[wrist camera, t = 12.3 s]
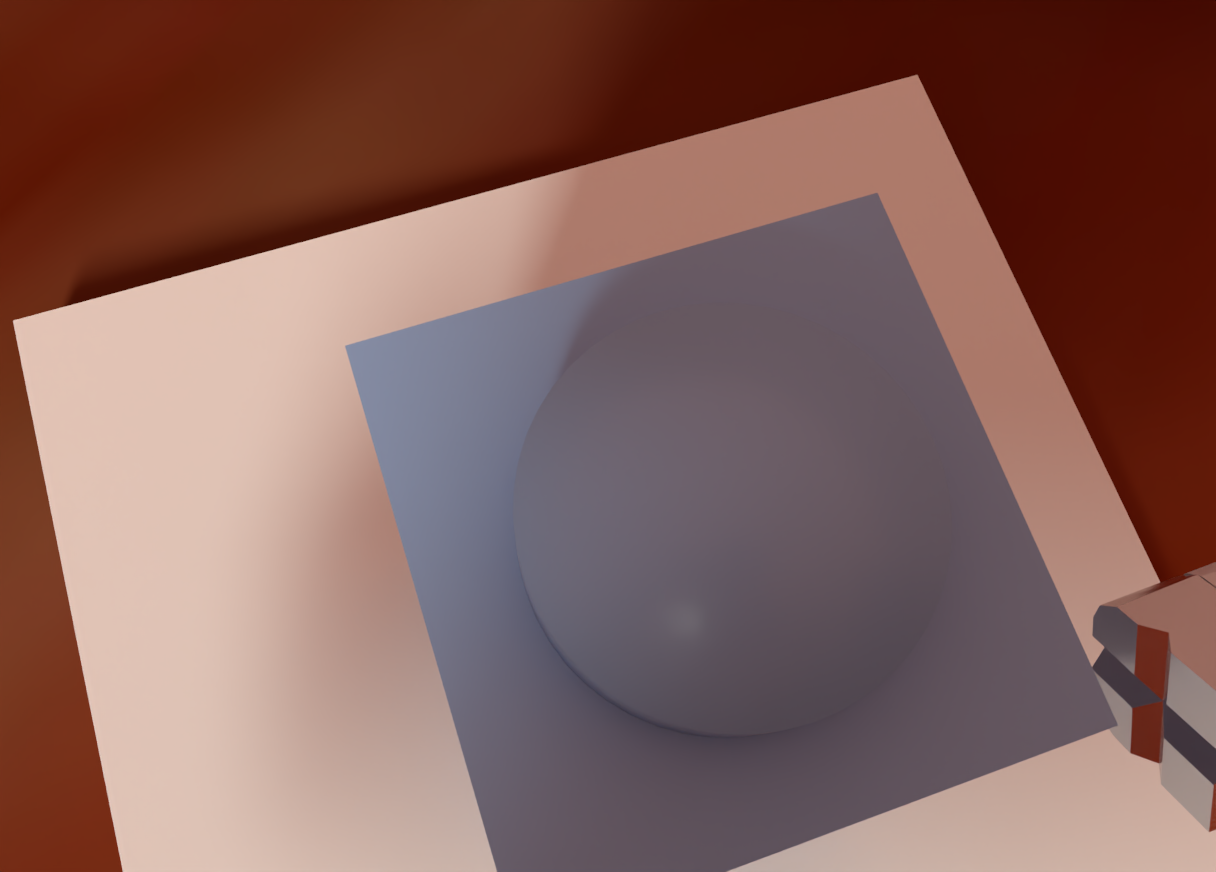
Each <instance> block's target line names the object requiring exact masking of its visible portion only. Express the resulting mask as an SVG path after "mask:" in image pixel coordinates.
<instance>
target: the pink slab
mask: <svg viewBox="0 0 1216 872" xmlns="http://www.w3.org/2000/svg"><path fill="white" fill-rule="evenodd" d="M874 193H878V195H879V197H880V199H881V202H882V204H883V206H884V208H885V210H886V213H887V215H888V217H889V219H890V222H891V224H892V226H893V228H894V230H895V233H896V235H897V237H898V239H899V241H900V244H901V246H902V248H903V250H904V252H905V255H906V257H907V259H908V261H909V264H910V266H911V268H912V270H913V272H914V275H915V277H916V279H917V281H918V283H919V286H920V288H921V290H922V292H923V295H924V297H925V299H926V301H927V303H928V306H929V308H930V310H931V312H932V314H933V317H934V319H935V321H936V323H937V325H938V328H939V330H940V332H941V334H942V337H943V339H944V341H945V343H946V345H947V348H948V350H949V352H950V354H951V356H952V359H953V361H954V363H955V365H956V368H957V370H958V372H959V374H960V376H961V379H962V381H963V383H964V385H965V387H966V390H967V392H968V394H969V396H970V398H971V401H972V403H973V405H974V407H975V410H976V412H977V414H978V416H979V418H980V421H981V423H982V425H983V427H984V429H985V432H986V434H987V436H988V438H989V441H990V443H991V445H992V447H993V449H994V452H995V454H996V456H997V458H998V460H999V463H1000V465H1001V467H1002V469H1003V471H1004V474H1005V476H1006V478H1007V480H1008V483H1009V485H1010V487H1011V489H1012V491H1013V494H1014V496H1015V498H1016V500H1017V502H1018V505H1019V507H1020V509H1021V511H1022V514H1023V516H1024V518H1025V520H1026V522H1027V525H1028V527H1029V529H1030V531H1031V533H1032V536H1033V538H1034V540H1035V542H1036V544H1037V547H1038V549H1039V551H1040V553H1041V556H1042V558H1043V560H1044V562H1045V564H1046V567H1047V569H1048V571H1049V573H1050V575H1051V578H1052V580H1053V582H1054V584H1055V587H1056V589H1057V591H1058V593H1059V595H1060V598H1061V600H1062V602H1063V604H1064V606H1065V609H1066V611H1067V613H1068V615H1069V617H1070V620H1071V622H1072V624H1073V626H1074V629H1075V631H1076V633H1077V635H1078V637H1079V640H1080V642H1081V644H1082V646H1083V648H1084V651H1085V653H1086V655H1087V657H1088V660H1089V662H1090V664H1091V666H1093V665H1094V663H1095V662H1096V660H1097V658H1098V657H1099V655H1100V654H1101V652H1102V651H1103V649H1104V646H1103V645H1102V644H1101V643H1100V642H1098V641H1097V640H1096V639H1095V638H1094V637H1093V636H1092V632H1093V616H1094V615H1095V613H1096V611H1097V609H1098V608H1099V606H1100V605H1102V604H1105V603H1107V602H1110V601H1113V600H1115V599H1118V598H1121V597H1123V596H1126V595H1129V594H1131V593H1134V592H1137V591H1139V590H1142V589H1144V588H1147V587H1150V586H1152V585H1155V584H1158V583H1160V581H1159V579H1158V577H1157V574H1156V572H1155V570H1154V568H1153V566H1152V564H1151V562H1150V560H1149V558H1148V556H1147V554H1146V551H1145V549H1144V547H1143V545H1142V543H1141V541H1140V539H1139V537H1138V535H1137V533H1136V531H1135V528H1134V526H1133V524H1132V522H1131V520H1130V518H1129V516H1128V514H1127V512H1126V510H1125V508H1124V505H1123V503H1122V501H1121V499H1120V497H1119V495H1118V493H1117V491H1116V489H1115V487H1114V485H1113V482H1112V480H1111V478H1110V476H1109V474H1108V472H1107V470H1106V468H1105V466H1104V464H1103V462H1102V459H1101V457H1100V455H1099V453H1098V451H1097V449H1096V447H1095V445H1094V443H1093V441H1092V439H1091V436H1090V434H1089V432H1088V430H1087V428H1086V426H1085V424H1084V422H1083V420H1082V418H1081V416H1080V414H1079V411H1078V409H1077V407H1076V405H1075V403H1074V401H1073V399H1072V397H1071V395H1070V393H1069V391H1068V388H1067V386H1066V384H1065V382H1064V380H1063V378H1062V376H1061V374H1060V372H1059V370H1058V368H1057V365H1056V363H1055V361H1054V359H1053V357H1052V355H1051V353H1050V351H1049V349H1048V347H1047V345H1046V342H1045V340H1044V338H1043V336H1042V334H1041V332H1040V330H1039V328H1038V326H1037V324H1036V322H1035V319H1034V317H1033V315H1032V313H1031V311H1030V309H1029V307H1028V305H1027V303H1026V301H1025V299H1024V296H1023V294H1022V292H1021V290H1020V288H1019V286H1018V284H1017V282H1016V280H1015V278H1014V276H1013V273H1012V271H1011V269H1010V267H1009V265H1008V263H1007V261H1006V259H1005V257H1004V255H1003V253H1002V250H1001V248H1000V246H999V244H998V242H997V240H996V238H995V236H994V234H993V232H992V230H991V228H990V225H989V223H988V221H987V219H986V217H985V215H984V213H983V211H982V209H981V207H980V205H979V202H978V200H977V198H976V196H975V194H974V192H973V190H972V188H971V186H970V184H969V182H968V179H967V177H966V175H965V173H964V171H963V169H962V167H961V165H960V163H959V161H958V159H957V156H956V154H955V152H954V150H953V148H952V146H951V144H950V142H949V140H948V138H947V136H946V133H945V131H944V129H943V127H942V125H941V123H940V121H939V119H938V117H937V115H936V113H935V110H934V108H933V106H932V104H931V102H930V100H929V98H928V96H927V94H926V92H925V90H924V87H923V85H922V83H921V81H920V79H919V77H918V75H914V76H911V77H907V78H903V79H900V80H896V81H892V82H888V83H885V84H881V85H877V86H874V87H870V88H866V89H863V90H859V91H855V92H852V93H848V94H844V95H841V96H837V97H833V98H830V99H826V100H822V101H819V102H815V103H811V104H808V105H804V106H800V107H797V108H793V109H789V110H786V111H782V112H778V113H775V114H771V115H767V116H764V117H760V118H756V119H753V120H749V121H745V122H742V123H738V124H734V125H730V126H727V127H723V128H719V129H716V130H712V131H708V132H705V133H701V134H697V135H694V136H690V137H686V138H683V139H679V140H675V141H672V142H668V143H664V144H661V145H657V146H653V147H650V148H646V149H642V150H639V151H635V152H631V153H628V154H624V155H620V156H617V157H613V158H609V159H606V160H602V161H598V162H595V163H591V164H587V165H584V166H580V167H576V168H572V169H569V170H565V171H561V172H558V173H554V174H550V175H547V176H543V177H539V178H536V179H532V180H528V181H525V182H521V183H517V184H514V185H510V186H506V187H503V188H499V189H495V190H492V191H488V192H484V193H481V194H477V195H473V196H470V197H466V198H462V199H459V200H455V201H451V202H448V203H444V204H440V205H437V206H433V207H429V208H425V209H422V210H418V211H414V212H411V213H407V214H403V215H400V216H396V217H392V218H389V219H385V220H381V221H378V222H374V223H370V224H367V225H363V226H359V227H356V228H352V229H348V230H345V231H341V232H337V233H334V234H330V235H326V236H323V237H319V238H315V239H312V240H308V241H304V242H301V243H297V244H293V245H290V246H286V247H282V248H279V249H275V250H271V251H267V252H264V253H260V254H256V255H253V256H249V257H245V258H242V259H238V260H234V261H231V262H227V263H223V264H220V265H216V266H212V267H209V268H205V269H201V270H198V271H194V272H190V273H187V274H183V275H179V276H176V277H172V278H168V279H165V280H161V281H157V282H154V283H150V284H146V285H143V286H139V287H135V288H132V289H128V290H124V291H121V292H117V293H113V294H109V295H106V296H102V297H98V298H95V299H91V300H87V301H84V302H80V303H76V304H73V305H69V306H65V307H62V308H58V309H54V310H51V311H47V312H43V313H40V314H36V315H32V316H29V317H25V318H21V319H18V320H14V321H13V323H14V328H15V333H16V338H17V343H18V348H19V353H20V358H21V363H22V368H23V373H24V378H25V383H26V388H27V393H28V398H29V403H30V408H31V413H32V418H33V423H34V428H35V433H36V438H37V443H38V448H39V453H40V458H41V463H42V468H43V473H44V478H45V483H46V488H47V493H48V498H49V503H50V508H51V513H52V518H53V523H54V528H55V533H56V538H57V543H58V548H59V553H60V558H61V563H62V568H63V573H64V578H65V583H66V588H67V593H68V598H69V603H70V609H71V614H72V619H73V624H74V629H75V634H76V639H77V644H78V649H79V654H80V659H81V664H82V669H83V674H84V679H85V684H86V689H87V694H88V699H89V704H90V709H91V714H92V719H93V724H94V729H95V734H96V739H97V744H98V749H99V754H100V759H101V764H102V769H103V774H104V779H105V784H106V789H107V794H108V799H109V804H110V809H111V814H112V819H113V824H114V829H115V834H116V839H117V844H118V849H119V854H120V859H121V864H122V869H123V872H497V870H496V866H495V863H494V860H493V856H492V853H491V849H490V846H489V842H488V839H487V835H486V832H485V828H484V825H483V821H482V818H481V815H480V811H479V808H478V804H477V801H476V797H475V794H474V790H473V787H472V783H471V780H470V776H469V773H468V770H467V766H466V763H465V759H464V756H463V752H462V749H461V745H460V742H459V738H458V735H457V732H456V728H455V725H454V721H453V718H452V714H451V711H450V707H449V704H448V700H447V697H446V693H445V690H444V687H443V683H442V680H441V676H440V673H439V669H438V666H437V662H436V659H435V655H434V652H433V648H432V645H431V642H430V638H429V635H428V631H427V628H426V624H425V621H424V617H423V614H422V610H421V607H420V604H419V600H418V597H417V593H416V590H415V586H414V583H413V579H412V576H411V572H410V569H409V565H408V562H407V559H406V555H405V552H404V548H403V545H402V541H401V538H400V534H399V531H398V527H397V524H396V521H395V517H394V514H393V510H392V507H391V503H390V500H389V496H388V493H387V489H386V486H385V482H384V479H383V476H382V472H381V469H380V465H379V462H378V458H377V455H376V451H375V448H374V444H373V441H372V437H371V434H370V431H369V427H368V424H367V420H366V417H365V413H364V410H363V406H362V403H361V399H360V396H359V393H358V389H357V386H356V382H355V379H354V375H353V372H352V368H351V365H350V361H349V358H348V354H347V351H346V348H345V346H346V345H349V344H353V343H356V342H360V341H363V340H367V339H370V338H374V337H377V336H381V335H384V334H387V333H391V332H394V331H398V330H401V329H405V328H408V327H412V326H415V325H419V324H422V323H426V322H429V321H433V320H436V319H440V318H443V317H447V316H450V315H454V314H457V313H461V312H464V311H467V310H471V309H474V308H478V307H481V306H485V305H488V304H492V303H495V302H499V301H502V300H506V299H509V298H513V297H516V296H520V295H523V294H527V293H530V292H534V291H537V290H540V289H544V288H547V287H551V286H554V285H558V284H561V283H565V282H568V281H572V280H575V279H579V278H582V277H586V276H589V275H593V274H596V273H600V272H603V271H607V270H610V269H613V268H617V267H620V266H624V265H627V264H631V263H634V262H638V261H641V260H645V259H648V258H652V257H655V256H659V255H662V254H666V253H669V252H673V251H676V250H680V249H683V248H686V247H690V246H693V245H697V244H700V243H704V242H707V241H711V240H714V239H718V238H721V237H725V236H728V235H732V234H735V233H739V232H742V231H746V230H749V229H753V228H756V227H759V226H763V225H766V224H770V223H773V222H777V221H780V220H784V219H787V218H791V217H794V216H798V215H801V214H805V213H808V212H812V211H815V210H819V209H822V208H826V207H829V206H832V205H836V204H839V203H843V202H846V201H850V200H853V199H857V198H860V197H864V196H867V195H871V194H874ZM727 872H1216V830H1214V831H1211V832H1208V831H1207V830H1206V829H1205V828H1204V827H1203V826H1202V825H1201V824H1200V823H1199V822H1198V821H1197V820H1196V819H1195V818H1194V817H1193V816H1192V815H1191V814H1190V813H1189V812H1188V811H1187V810H1186V809H1185V808H1184V807H1183V806H1182V805H1181V804H1180V803H1179V802H1178V801H1177V800H1176V799H1175V798H1174V797H1173V796H1172V795H1171V794H1170V793H1169V792H1168V791H1167V790H1166V789H1165V788H1164V787H1163V786H1162V785H1161V780H1160V770H1159V763H1156V762H1153V761H1150V760H1148V759H1145V758H1142V757H1139V756H1137V755H1134V754H1131V753H1130V752H1129V751H1128V750H1127V749H1126V748H1125V747H1124V746H1123V745H1122V744H1121V743H1120V742H1119V741H1118V740H1117V739H1116V738H1115V737H1114V736H1113V734H1112V733H1111V731H1110V730H1109V729H1107V730H1104V731H1102V732H1099V733H1096V734H1094V735H1091V736H1088V737H1086V738H1083V739H1080V740H1078V741H1075V742H1072V743H1070V744H1067V745H1064V746H1062V747H1059V748H1056V749H1053V750H1051V751H1048V752H1045V753H1043V754H1040V755H1037V756H1035V757H1032V758H1029V759H1027V760H1024V761H1021V762H1019V763H1016V764H1013V765H1011V766H1008V767H1005V768H1003V769H1000V770H997V771H995V772H992V773H989V774H987V775H984V776H981V777H979V778H976V779H973V780H971V781H968V782H965V783H962V784H960V785H957V786H954V787H952V788H949V789H946V790H944V791H941V792H938V793H936V794H933V795H930V796H928V797H925V798H922V799H920V800H917V801H914V802H912V803H909V804H906V805H904V806H901V807H898V808H896V809H893V810H890V811H888V812H885V813H882V814H880V815H877V816H874V817H871V818H869V819H866V820H863V821H861V822H858V823H855V824H853V825H850V826H847V827H845V828H842V829H839V830H837V831H834V832H831V833H829V834H826V835H823V836H821V837H818V838H815V839H813V840H810V841H807V842H805V843H802V844H799V845H797V846H794V847H791V848H789V849H786V850H783V851H781V852H778V853H775V854H772V855H770V856H767V857H764V858H762V859H759V860H756V861H754V862H751V863H748V864H746V865H743V866H740V867H738V868H735V869H732V870H730V871H727Z"/></svg>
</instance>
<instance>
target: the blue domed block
mask: <svg viewBox="0 0 1216 872" xmlns="http://www.w3.org/2000/svg"><path fill="white" fill-rule="evenodd" d="M345 348H346V351H347V354H348V358H349V361H350V365H351V368H352V372H353V375H354V379H355V382H356V386H357V389H358V393H359V396H360V399H361V403H362V406H363V410H364V413H365V417H366V420H367V424H368V427H369V431H370V434H371V437H372V441H373V444H374V448H375V451H376V455H377V458H378V462H379V465H380V469H381V472H382V476H383V479H384V482H385V486H386V489H387V493H388V496H389V500H390V503H391V507H392V510H393V514H394V517H395V521H396V524H397V527H398V531H399V534H400V538H401V541H402V545H403V548H404V552H405V555H406V559H407V562H408V565H409V569H410V572H411V576H412V579H413V583H414V586H415V590H416V593H417V597H418V600H419V604H420V607H421V610H422V614H423V617H424V621H425V624H426V628H427V631H428V635H429V638H430V642H431V645H432V648H433V652H434V655H435V659H436V662H437V666H438V669H439V673H440V676H441V680H442V683H443V687H444V690H445V693H446V697H447V700H448V704H449V707H450V711H451V714H452V718H453V721H454V725H455V728H456V732H457V735H458V738H459V742H460V745H461V749H462V752H463V756H464V759H465V763H466V766H467V770H468V773H469V776H470V780H471V783H472V787H473V790H474V794H475V797H476V801H477V804H478V808H479V811H480V815H481V818H482V821H483V825H484V828H485V832H486V835H487V839H488V842H489V846H490V849H491V853H492V856H493V860H494V863H495V866H496V870H497V872H727V871H730V870H732V869H735V868H738V867H740V866H743V865H746V864H748V863H751V862H754V861H756V860H759V859H762V858H764V857H767V856H770V855H772V854H775V853H778V852H781V851H783V850H786V849H789V848H791V847H794V846H797V845H799V844H802V843H805V842H807V841H810V840H813V839H815V838H818V837H821V836H823V835H826V834H829V833H831V832H834V831H837V830H839V829H842V828H845V827H847V826H850V825H853V824H855V823H858V822H861V821H863V820H866V819H869V818H871V817H874V816H877V815H880V814H882V813H885V812H888V811H890V810H893V809H896V808H898V807H901V806H904V805H906V804H909V803H912V802H914V801H917V800H920V799H922V798H925V797H928V796H930V795H933V794H936V793H938V792H941V791H944V790H946V789H949V788H952V787H954V786H957V785H960V784H962V783H965V782H968V781H971V780H973V779H976V778H979V777H981V776H984V775H987V774H989V773H992V772H995V771H997V770H1000V769H1003V768H1005V767H1008V766H1011V765H1013V764H1016V763H1019V762H1021V761H1024V760H1027V759H1029V758H1032V757H1035V756H1037V755H1040V754H1043V753H1045V752H1048V751H1051V750H1053V749H1056V748H1059V747H1062V746H1064V745H1067V744H1070V743H1072V742H1075V741H1078V740H1080V739H1083V738H1086V737H1088V736H1091V735H1094V734H1096V733H1099V732H1102V731H1104V730H1107V729H1110V728H1112V727H1115V726H1118V724H1117V721H1116V719H1115V717H1114V715H1113V713H1112V710H1111V708H1110V706H1109V704H1108V702H1107V699H1106V697H1105V695H1104V693H1103V690H1102V688H1101V686H1100V684H1099V682H1098V679H1097V677H1096V675H1095V673H1094V671H1093V668H1092V666H1091V664H1090V662H1089V660H1088V657H1087V655H1086V653H1085V651H1084V648H1083V646H1082V644H1081V642H1080V640H1079V637H1078V635H1077V633H1076V631H1075V629H1074V626H1073V624H1072V622H1071V620H1070V617H1069V615H1068V613H1067V611H1066V609H1065V606H1064V604H1063V602H1062V600H1061V598H1060V595H1059V593H1058V591H1057V589H1056V587H1055V584H1054V582H1053V580H1052V578H1051V575H1050V573H1049V571H1048V569H1047V567H1046V564H1045V562H1044V560H1043V558H1042V556H1041V553H1040V551H1039V549H1038V547H1037V544H1036V542H1035V540H1034V538H1033V536H1032V533H1031V531H1030V529H1029V527H1028V525H1027V522H1026V520H1025V518H1024V516H1023V514H1022V511H1021V509H1020V507H1019V505H1018V502H1017V500H1016V498H1015V496H1014V494H1013V491H1012V489H1011V487H1010V485H1009V483H1008V480H1007V478H1006V476H1005V474H1004V471H1003V469H1002V467H1001V465H1000V463H999V460H998V458H997V456H996V454H995V452H994V449H993V447H992V445H991V443H990V441H989V438H988V436H987V434H986V432H985V429H984V427H983V425H982V423H981V421H980V418H979V416H978V414H977V412H976V410H975V407H974V405H973V403H972V401H971V398H970V396H969V394H968V392H967V390H966V387H965V385H964V383H963V381H962V379H961V376H960V374H959V372H958V370H957V368H956V365H955V363H954V361H953V359H952V356H951V354H950V352H949V350H948V348H947V345H946V343H945V341H944V339H943V337H942V334H941V332H940V330H939V328H938V325H937V323H936V321H935V319H934V317H933V314H932V312H931V310H930V308H929V306H928V303H927V301H926V299H925V297H924V295H923V292H922V290H921V288H920V286H919V283H918V281H917V279H916V277H915V275H914V272H913V270H912V268H911V266H910V264H909V261H908V259H907V257H906V255H905V252H904V250H903V248H902V246H901V244H900V241H899V239H898V237H897V235H896V233H895V230H894V228H893V226H892V224H891V222H890V219H889V217H888V215H887V213H886V210H885V208H884V206H883V204H882V202H881V199H880V197H879V195H878V193H874V194H871V195H867V196H864V197H860V198H857V199H853V200H850V201H846V202H843V203H839V204H836V205H832V206H829V207H826V208H822V209H819V210H815V211H812V212H808V213H805V214H801V215H798V216H794V217H791V218H787V219H784V220H780V221H777V222H773V223H770V224H766V225H763V226H759V227H756V228H753V229H749V230H746V231H742V232H739V233H735V234H732V235H728V236H725V237H721V238H718V239H714V240H711V241H707V242H704V243H700V244H697V245H693V246H690V247H686V248H683V249H680V250H676V251H673V252H669V253H666V254H662V255H659V256H655V257H652V258H648V259H645V260H641V261H638V262H634V263H631V264H627V265H624V266H620V267H617V268H613V269H610V270H607V271H603V272H600V273H596V274H593V275H589V276H586V277H582V278H579V279H575V280H572V281H568V282H565V283H561V284H558V285H554V286H551V287H547V288H544V289H540V290H537V291H534V292H530V293H527V294H523V295H520V296H516V297H513V298H509V299H506V300H502V301H499V302H495V303H492V304H488V305H485V306H481V307H478V308H474V309H471V310H467V311H464V312H461V313H457V314H454V315H450V316H447V317H443V318H440V319H436V320H433V321H429V322H426V323H422V324H419V325H415V326H412V327H408V328H405V329H401V330H398V331H394V332H391V333H387V334H384V335H381V336H377V337H374V338H370V339H367V340H363V341H360V342H356V343H353V344H349V345H346V346H345Z"/></svg>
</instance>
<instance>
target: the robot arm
mask: <svg viewBox="0 0 1216 872" xmlns="http://www.w3.org/2000/svg"><path fill="white" fill-rule="evenodd" d="M1092 636H1093V637H1094V638H1095V639H1096V640H1097V641H1098V642H1100V643H1101V644H1102V645H1103V646H1104V649H1103V651H1102V652H1101V654H1100V655H1099V657H1098V658H1097V660H1096V662H1095V663H1094V665H1093V666H1092V668H1093V671H1094V673H1095V675H1096V677H1097V679H1098V682H1099V684H1100V686H1101V688H1102V690H1103V693H1104V695H1105V697H1106V699H1107V702H1108V704H1109V706H1110V708H1111V710H1112V713H1113V715H1114V717H1115V719H1116V721H1117V724H1118V726H1115V727H1112V728H1110V729H1109V730H1110V731H1111V733H1112V734H1113V736H1114V737H1115V738H1116V739H1117V740H1118V741H1119V742H1120V743H1121V744H1122V745H1123V746H1124V747H1125V748H1126V749H1127V750H1128V751H1129V752H1130V753H1131V754H1134V755H1137V756H1139V757H1142V758H1145V759H1148V760H1150V761H1153V762H1156V763H1159V770H1160V780H1161V785H1162V786H1163V787H1164V788H1165V789H1166V790H1167V791H1168V792H1169V793H1170V794H1171V795H1172V796H1173V797H1174V798H1175V799H1176V800H1177V801H1178V802H1179V803H1180V804H1181V805H1182V806H1183V807H1184V808H1185V809H1186V810H1187V811H1188V812H1189V813H1190V814H1191V815H1192V816H1193V817H1194V818H1195V819H1196V820H1197V821H1198V822H1199V823H1200V824H1201V825H1202V826H1203V827H1204V828H1205V829H1206V830H1207V831H1208V832H1211V831H1214V830H1216V562H1215V563H1212V564H1210V565H1207V566H1204V567H1201V568H1199V569H1196V570H1193V571H1191V572H1188V573H1186V574H1184V575H1183V576H1176V577H1174V578H1171V579H1168V580H1166V581H1163V582H1160V583H1158V584H1155V585H1152V586H1150V587H1147V588H1144V589H1142V590H1139V591H1137V592H1134V593H1131V594H1129V595H1126V596H1123V597H1121V598H1118V599H1115V600H1113V601H1110V602H1107V603H1105V604H1102V605H1100V606H1099V608H1098V609H1097V611H1096V613H1095V615H1094V616H1093V632H1092Z"/></svg>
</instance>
